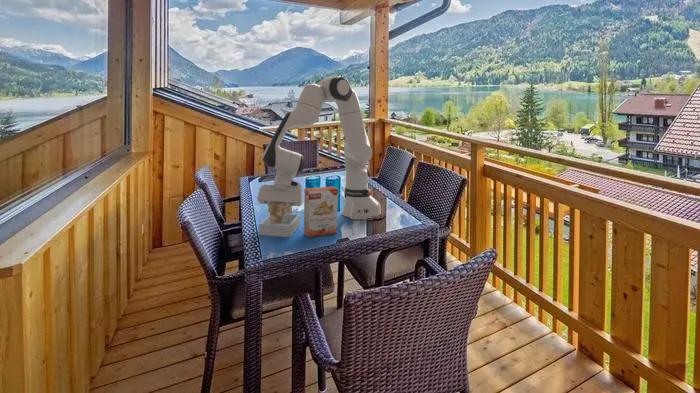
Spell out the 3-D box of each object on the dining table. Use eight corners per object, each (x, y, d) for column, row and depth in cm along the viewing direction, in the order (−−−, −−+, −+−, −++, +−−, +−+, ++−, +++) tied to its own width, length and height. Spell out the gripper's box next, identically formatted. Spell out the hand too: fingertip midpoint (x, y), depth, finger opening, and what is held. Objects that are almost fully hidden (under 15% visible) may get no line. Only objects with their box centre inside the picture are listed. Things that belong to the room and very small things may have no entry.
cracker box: (308, 238, 174) (308, 191, 169) (303, 233, 180) (303, 188, 174) (337, 233, 181) (338, 188, 176) (332, 229, 186) (332, 185, 181)
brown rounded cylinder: (293, 219, 200) (293, 201, 198) (290, 222, 195) (290, 204, 193) (283, 218, 201) (283, 201, 198) (280, 221, 196) (280, 203, 194)
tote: (300, 224, 192) (300, 214, 191) (290, 237, 175) (290, 226, 174) (272, 222, 194) (271, 212, 192) (259, 235, 176) (258, 224, 175)
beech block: (284, 220, 181) (284, 203, 179) (281, 223, 176) (281, 206, 174) (273, 219, 182) (273, 202, 180) (270, 222, 177) (269, 205, 175)
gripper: (259, 180, 183) (252, 207, 176) (303, 183, 181) (298, 210, 174) (262, 188, 188) (255, 214, 181) (305, 191, 186) (300, 217, 179)
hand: (276, 212), depth 177 cm, fingers closed on beech block, 5 cm apart
